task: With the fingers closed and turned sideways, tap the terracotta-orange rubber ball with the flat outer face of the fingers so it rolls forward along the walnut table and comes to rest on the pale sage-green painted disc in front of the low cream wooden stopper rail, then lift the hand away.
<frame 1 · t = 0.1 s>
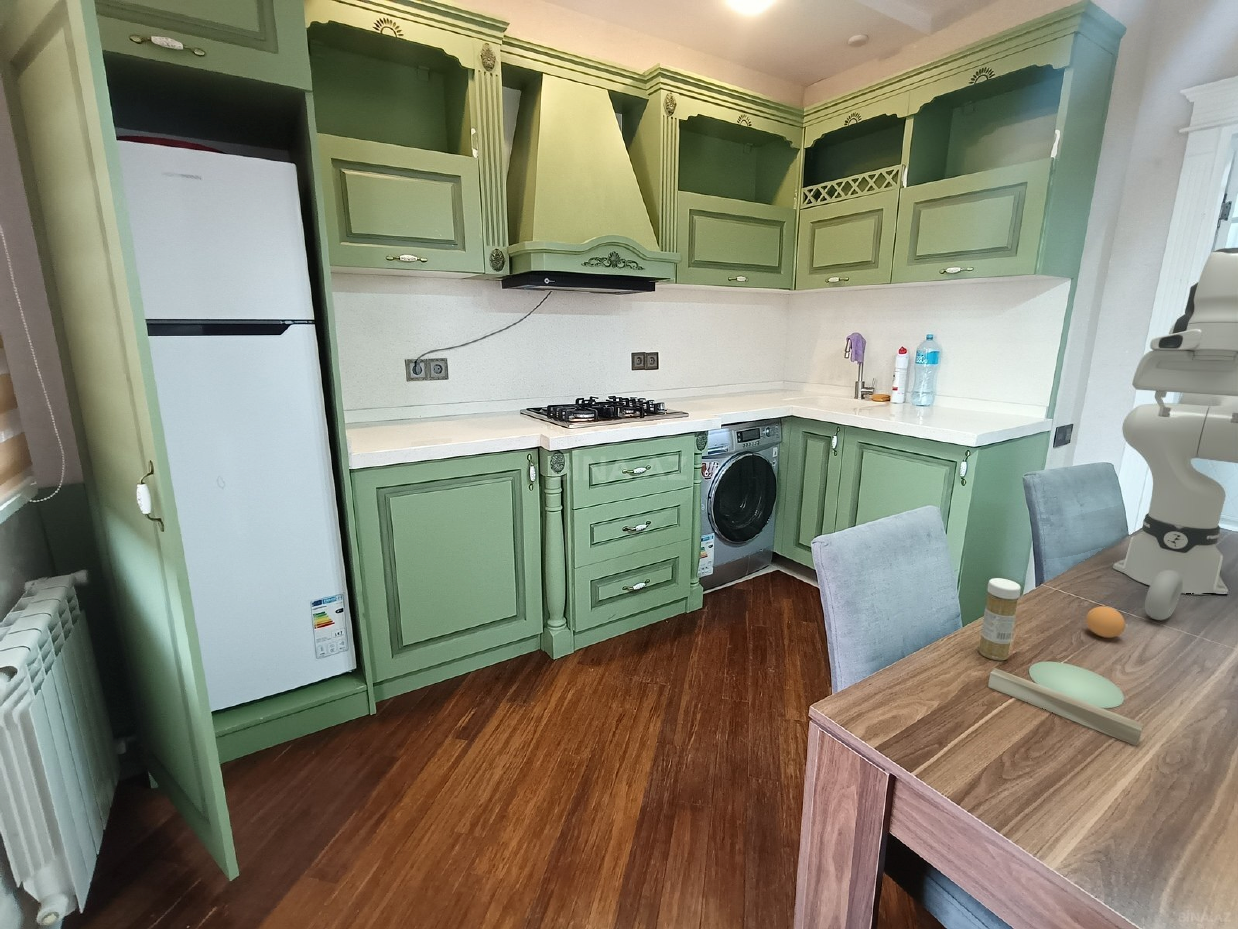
hand: (1198, 419, 105), 39 cm above the table, tool pointing down, fingers open, 8 cm apart
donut: (1157, 619, 114), on the table
sprinkles bottle: (992, 655, 101), on the table
stopper rail: (1058, 711, 87), on the table
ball: (1105, 622, 107), on the table
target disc: (1074, 684, 93), on the table
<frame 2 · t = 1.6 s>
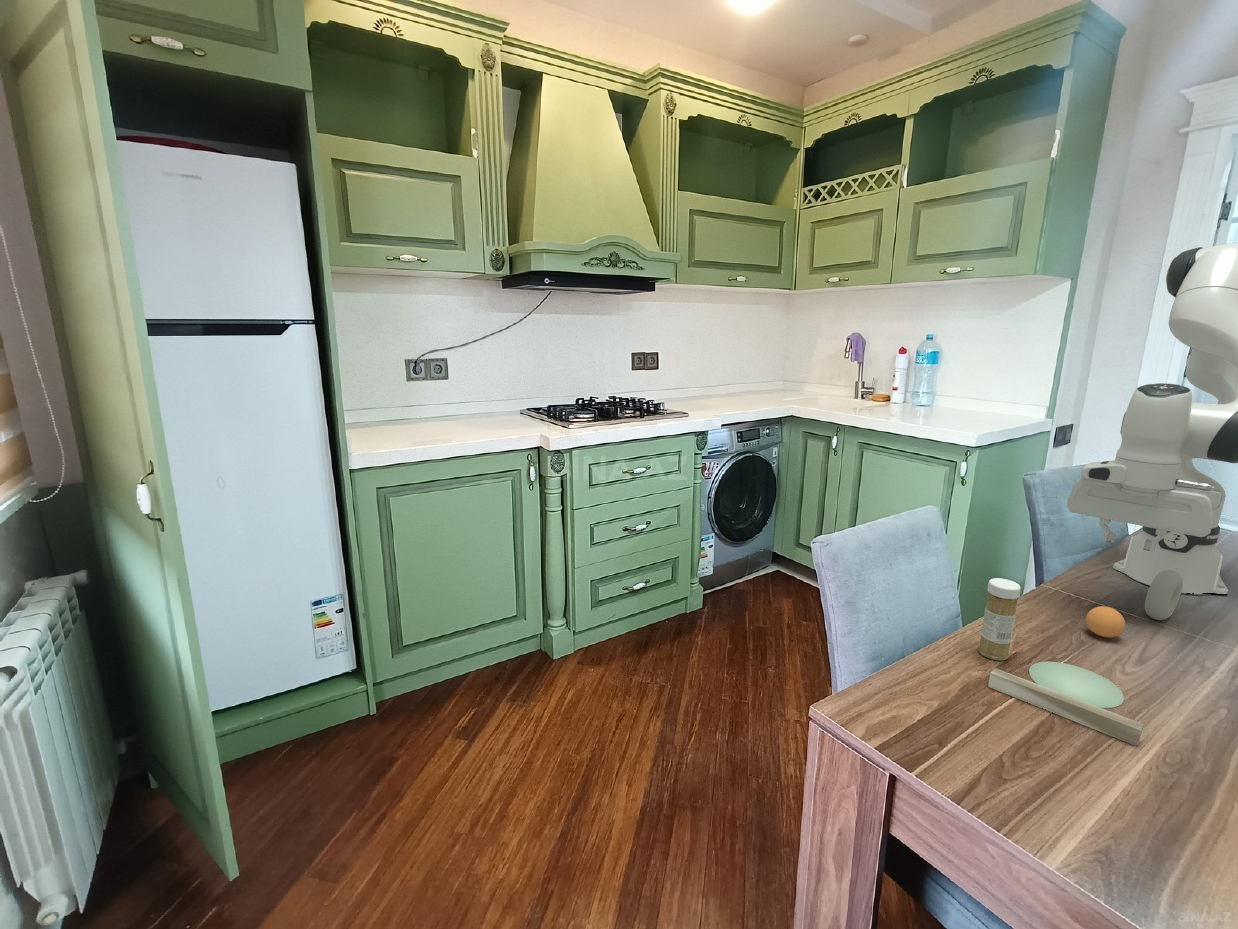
hand: (1128, 545, 110), 15 cm above the table, tool pointing down, fingers open, 4 cm apart
nothing on the table moved.
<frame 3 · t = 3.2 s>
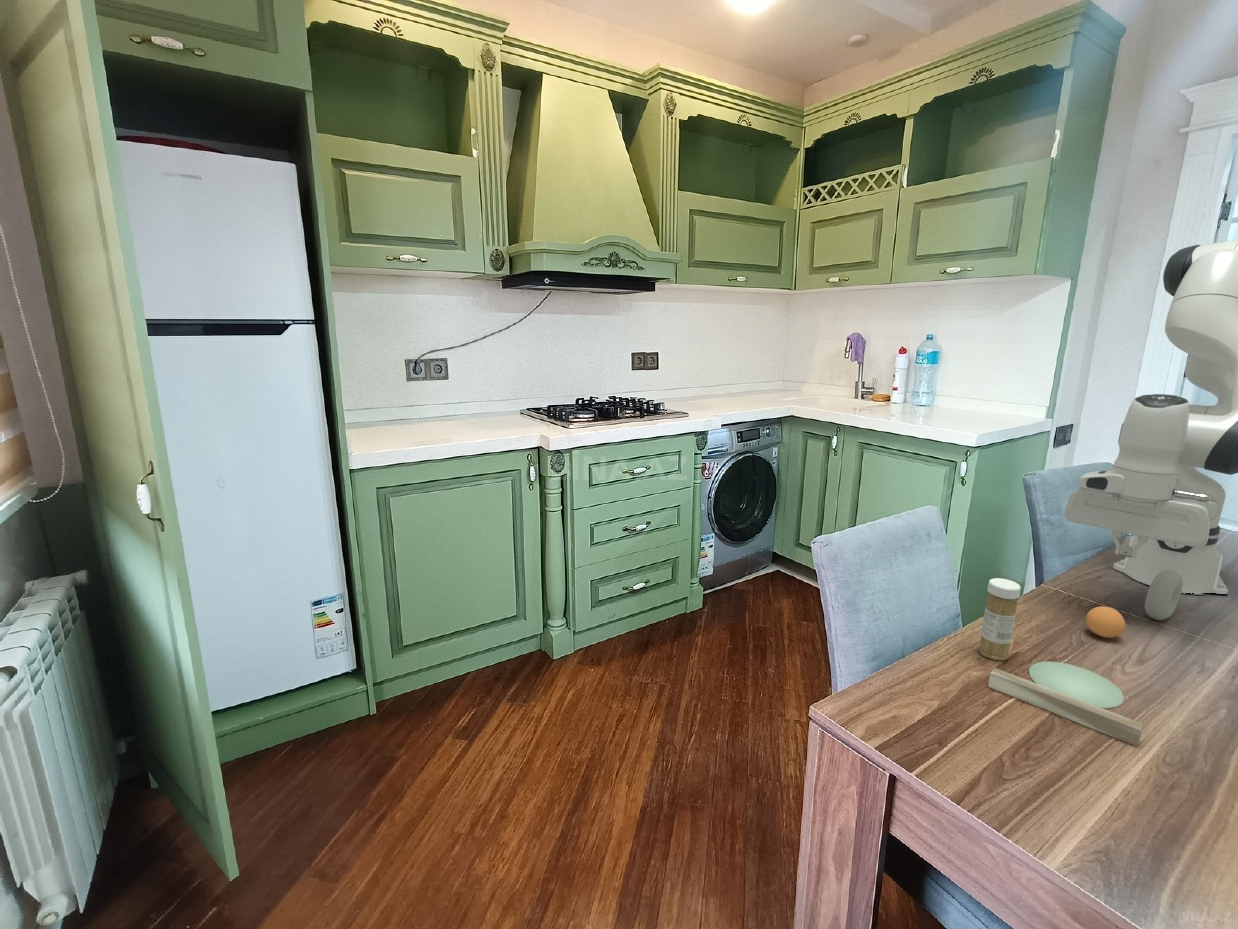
hand: (1125, 555, 110), 13 cm above the table, tool pointing down, fingers closed
nothing on the table moved.
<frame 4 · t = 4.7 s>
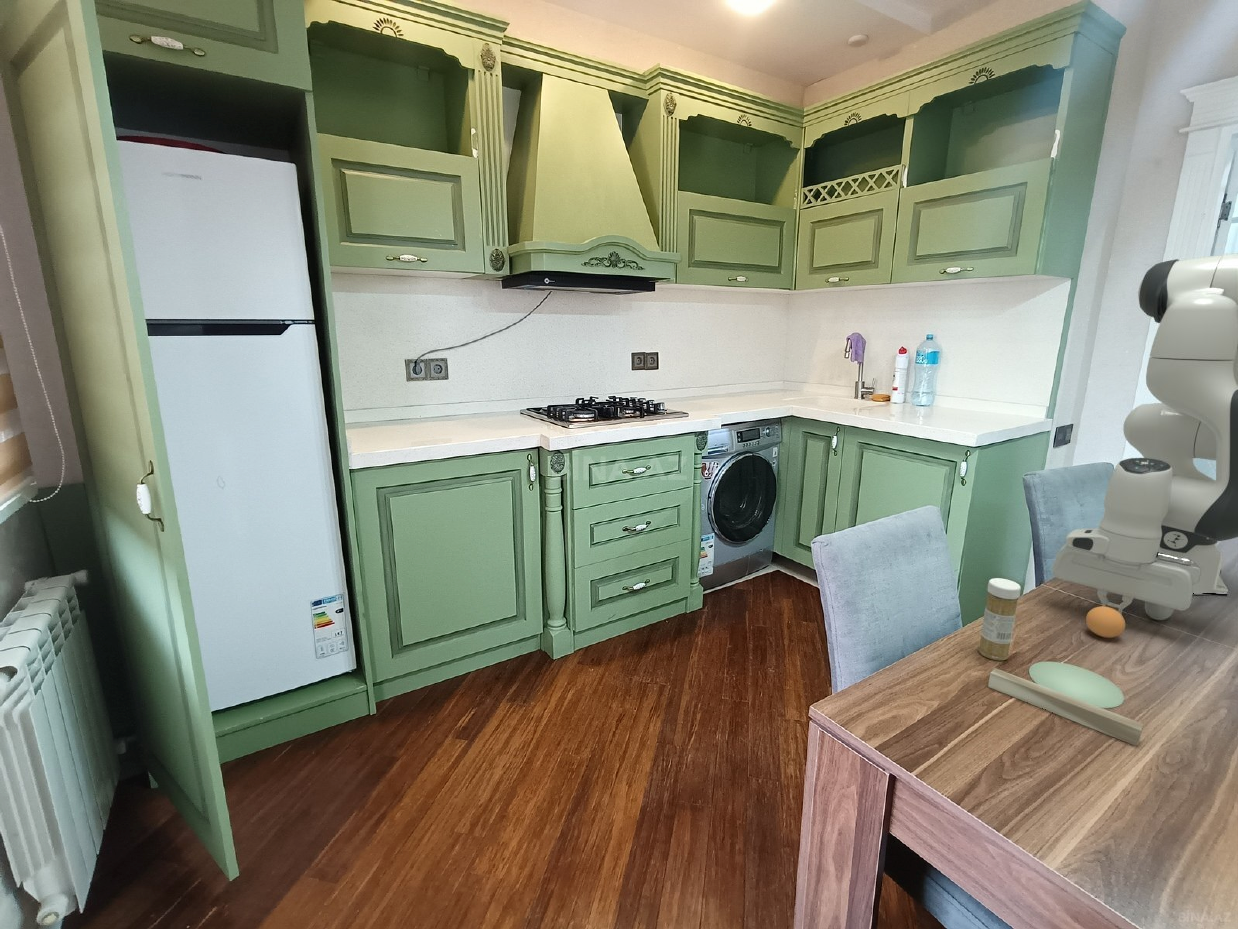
hand: (1111, 613, 112), 2 cm above the table, tool pointing down, fingers closed
nothing on the table moved.
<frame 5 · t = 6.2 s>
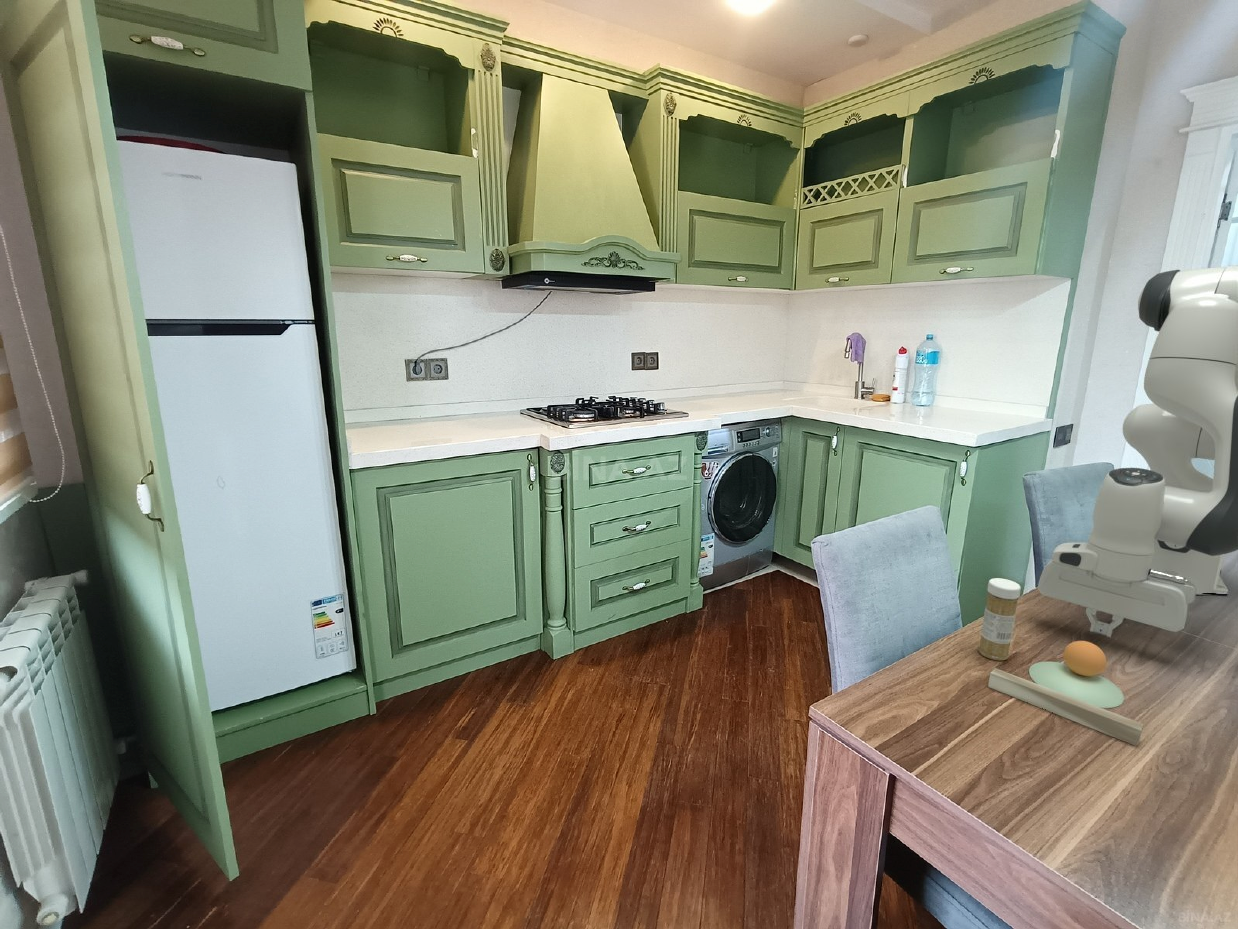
hand: (1100, 633, 105), 2 cm above the table, tool pointing down, fingers closed
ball: (1084, 658, 95), on the table
everything else where it was.
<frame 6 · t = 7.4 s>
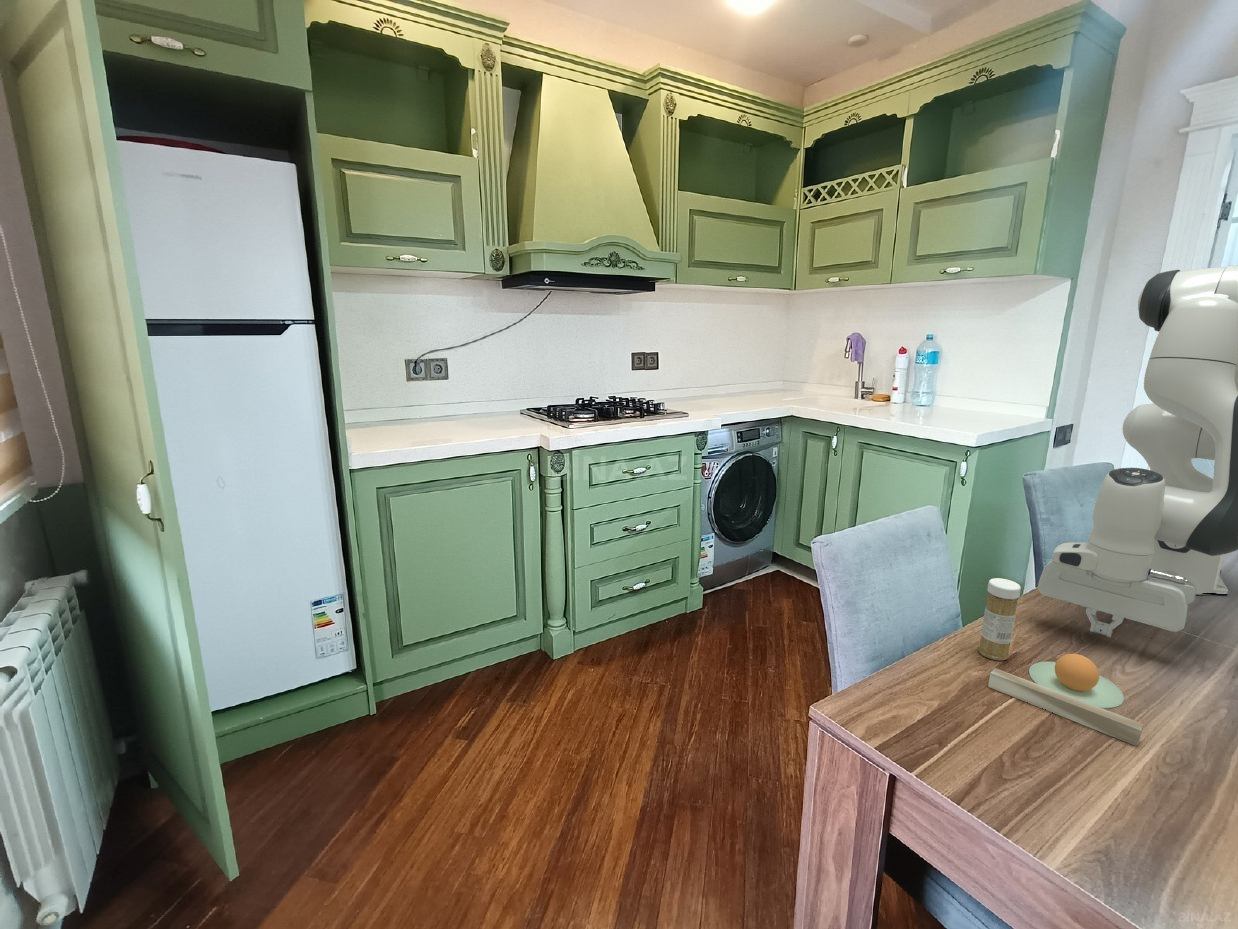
hand: (1100, 633, 105), 2 cm above the table, tool pointing down, fingers closed
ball: (1076, 672, 91), on the table
everything else where it was.
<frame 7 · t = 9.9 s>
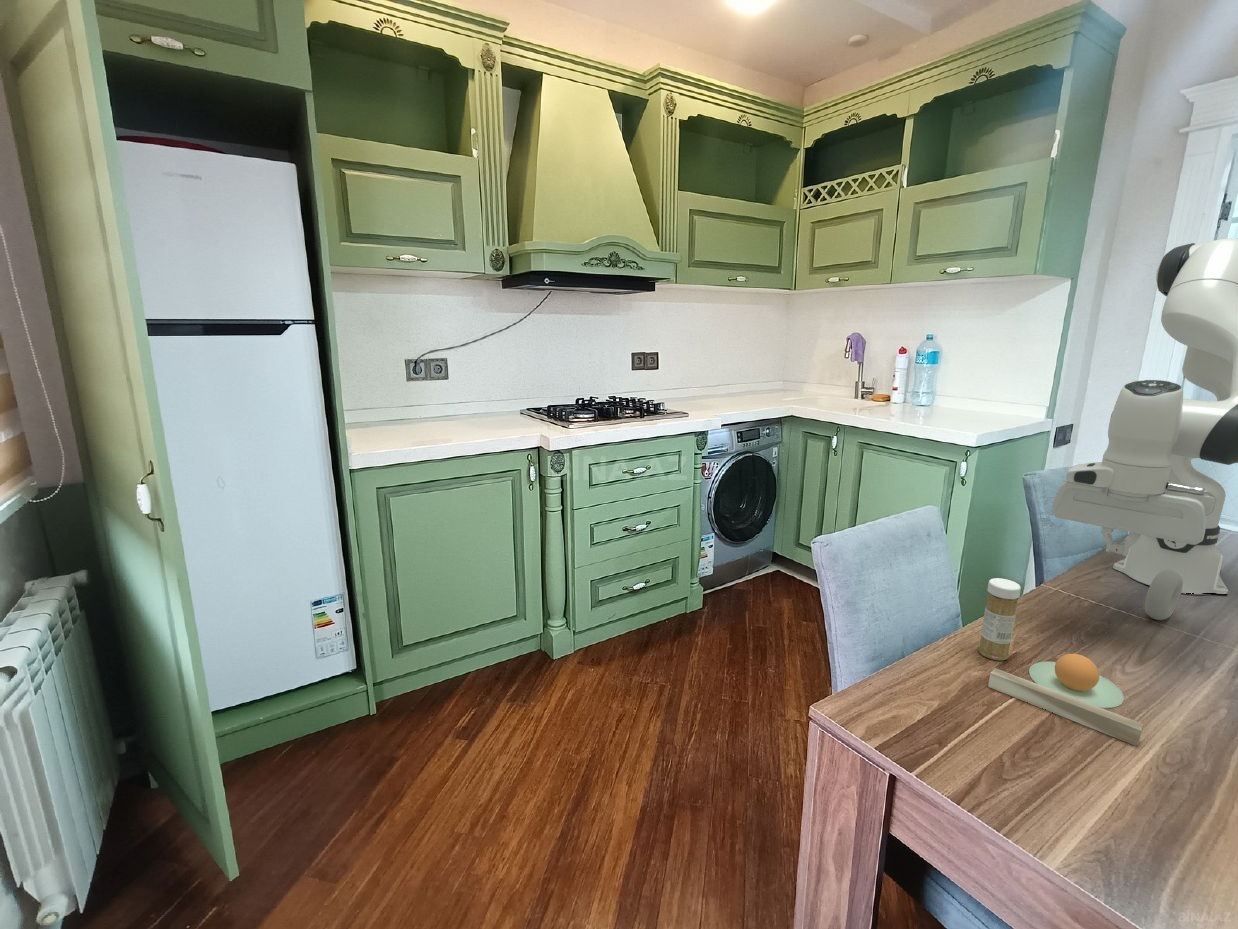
hand: (1116, 553, 103), 16 cm above the table, tool pointing down, fingers closed
nothing on the table moved.
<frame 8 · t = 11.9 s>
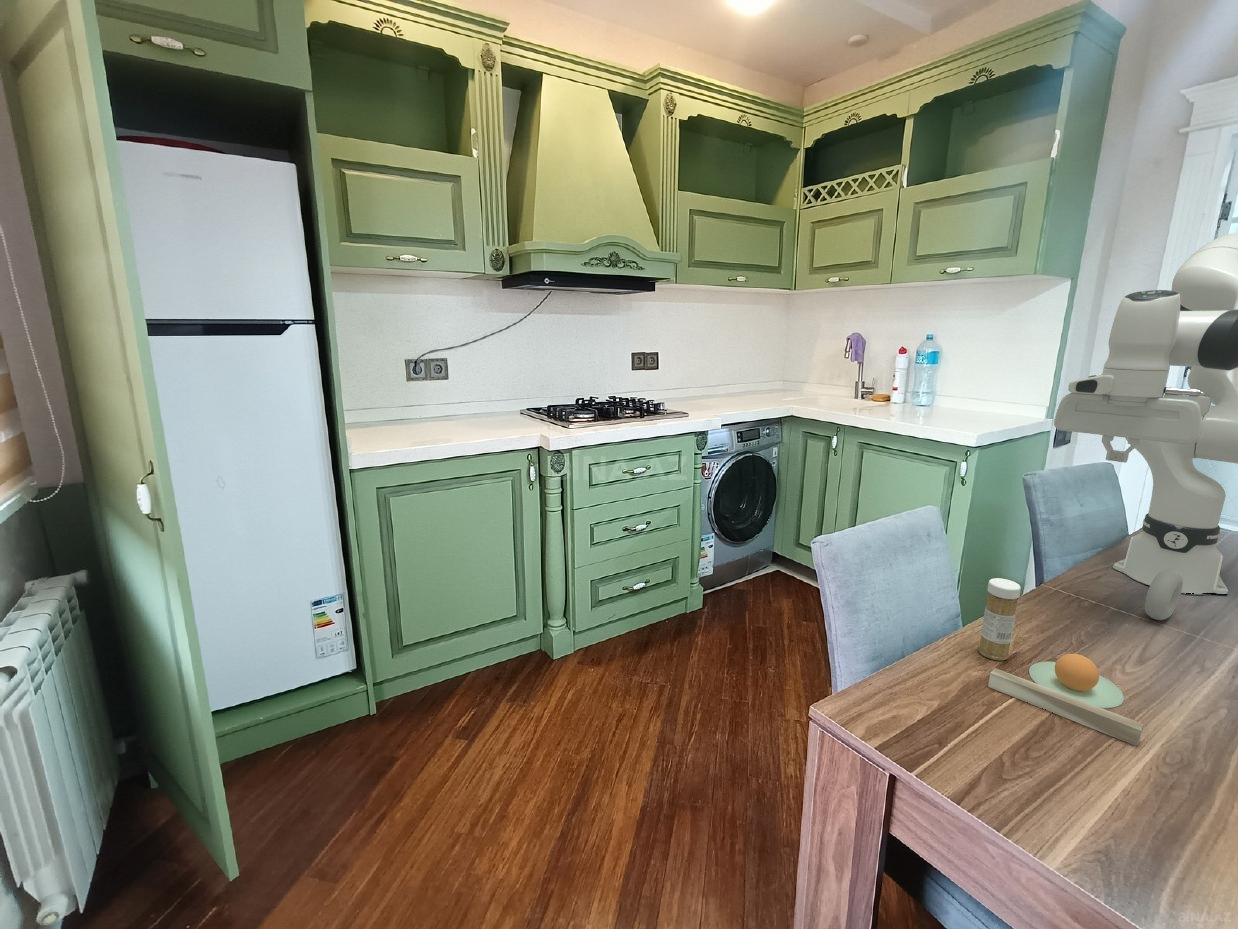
hand: (1116, 460, 107), 31 cm above the table, tool pointing down, fingers closed
nothing on the table moved.
at the end: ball 1.3 cm from the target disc (horizontally); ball at rest at the end (0.0 cm/s); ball moved 23.3 cm from its start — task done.
